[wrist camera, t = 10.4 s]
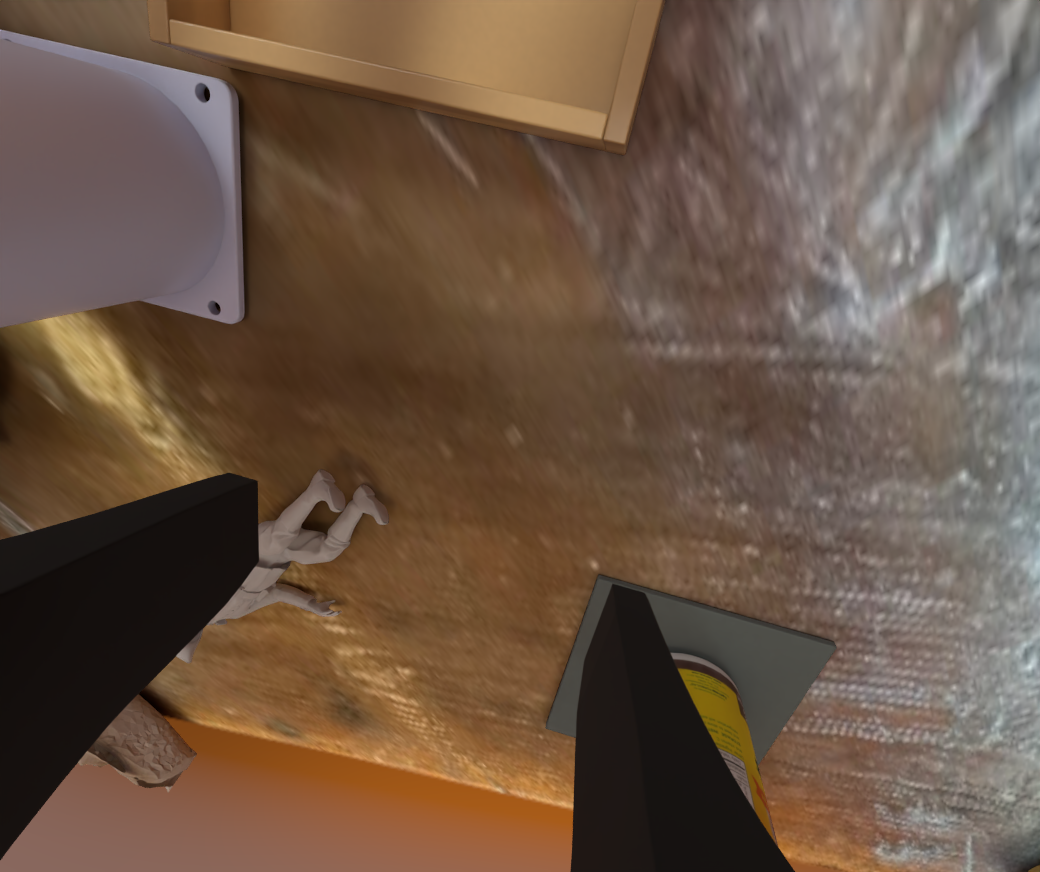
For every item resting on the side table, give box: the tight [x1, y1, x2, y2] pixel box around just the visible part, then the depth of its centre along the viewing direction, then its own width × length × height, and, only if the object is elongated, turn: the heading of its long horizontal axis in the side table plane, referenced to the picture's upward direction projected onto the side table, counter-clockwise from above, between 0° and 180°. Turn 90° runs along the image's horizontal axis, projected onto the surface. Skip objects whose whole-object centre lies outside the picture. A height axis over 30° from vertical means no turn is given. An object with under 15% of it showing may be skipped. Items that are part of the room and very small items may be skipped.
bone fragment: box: [78, 694, 197, 792], centre depth 30 cm, size 14×6×5 cm, turn 54°
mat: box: [545, 575, 836, 765], centre depth 24 cm, size 10×10×1 cm
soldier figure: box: [176, 469, 389, 663], centre depth 23 cm, size 8×5×12 cm
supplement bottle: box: [671, 653, 778, 846], centre depth 19 cm, size 6×6×10 cm
